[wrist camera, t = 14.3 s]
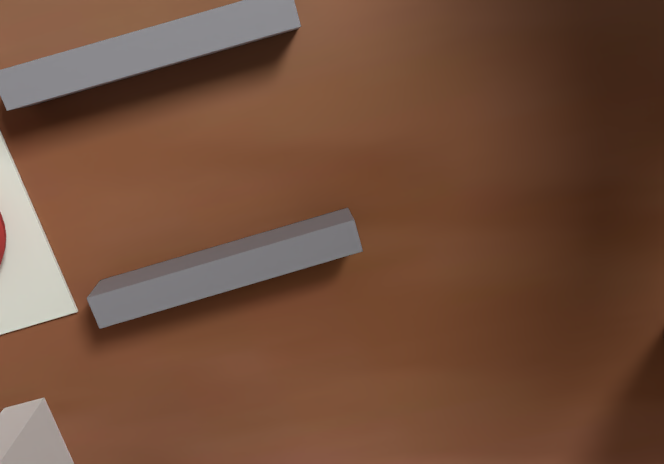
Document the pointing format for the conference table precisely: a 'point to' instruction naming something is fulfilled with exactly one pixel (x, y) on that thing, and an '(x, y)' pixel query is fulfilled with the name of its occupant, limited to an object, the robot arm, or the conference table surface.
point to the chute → (179, 273)
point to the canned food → (2, 238)
